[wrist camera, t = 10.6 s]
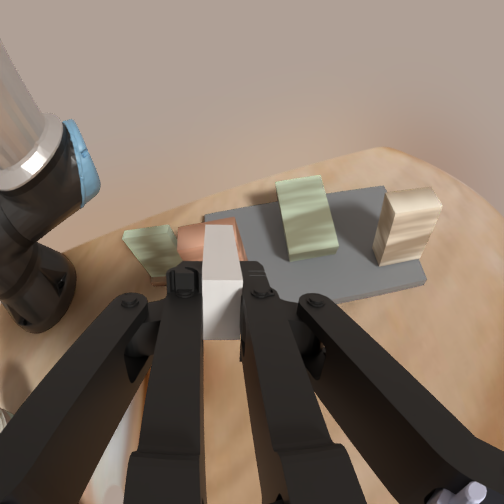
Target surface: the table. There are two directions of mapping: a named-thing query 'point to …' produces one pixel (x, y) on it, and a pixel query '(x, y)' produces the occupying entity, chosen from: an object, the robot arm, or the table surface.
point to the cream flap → (405, 225)
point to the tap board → (331, 266)
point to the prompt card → (154, 250)
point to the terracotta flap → (193, 239)
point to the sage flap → (306, 218)
